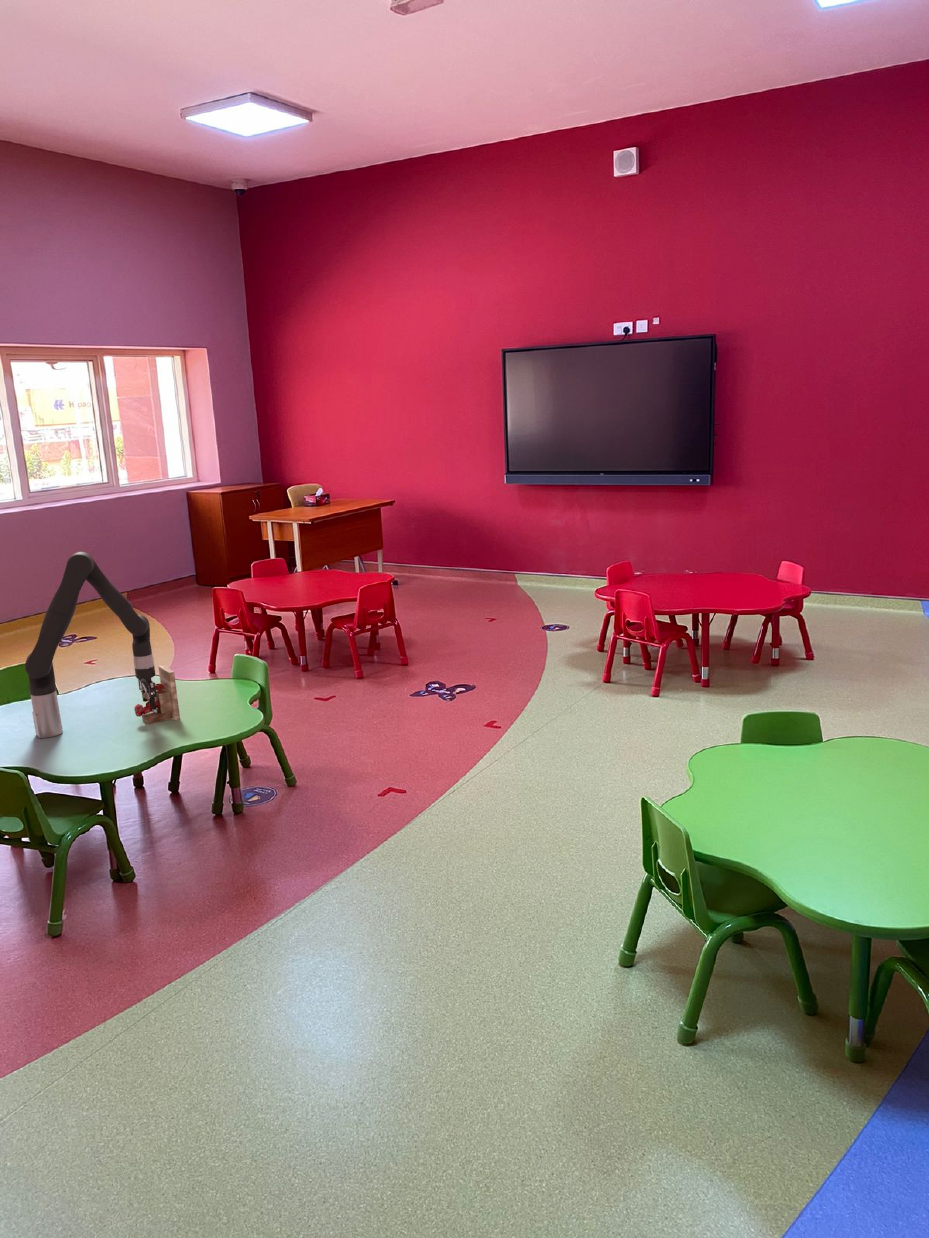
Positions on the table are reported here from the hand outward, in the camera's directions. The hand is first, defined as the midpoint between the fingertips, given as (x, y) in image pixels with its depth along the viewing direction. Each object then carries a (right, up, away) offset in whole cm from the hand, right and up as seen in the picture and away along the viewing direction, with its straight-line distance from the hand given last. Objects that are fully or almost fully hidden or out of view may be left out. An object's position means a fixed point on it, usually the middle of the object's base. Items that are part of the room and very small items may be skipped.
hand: (149, 703), depth 368 cm
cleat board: (+3, -6, +4) cm, 8 cm away
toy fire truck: (+1, -3, +1) cm, 3 cm away
